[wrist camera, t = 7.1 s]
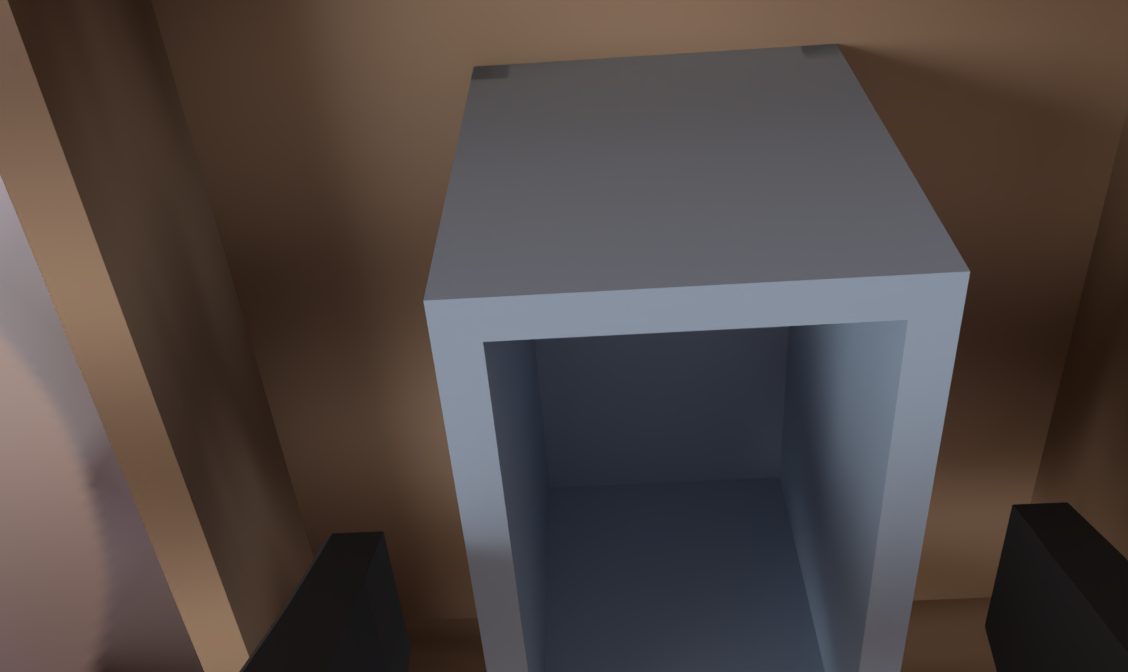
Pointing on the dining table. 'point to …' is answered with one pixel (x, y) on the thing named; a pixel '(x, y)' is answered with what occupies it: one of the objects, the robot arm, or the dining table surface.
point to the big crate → (407, 241)
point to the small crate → (690, 363)
